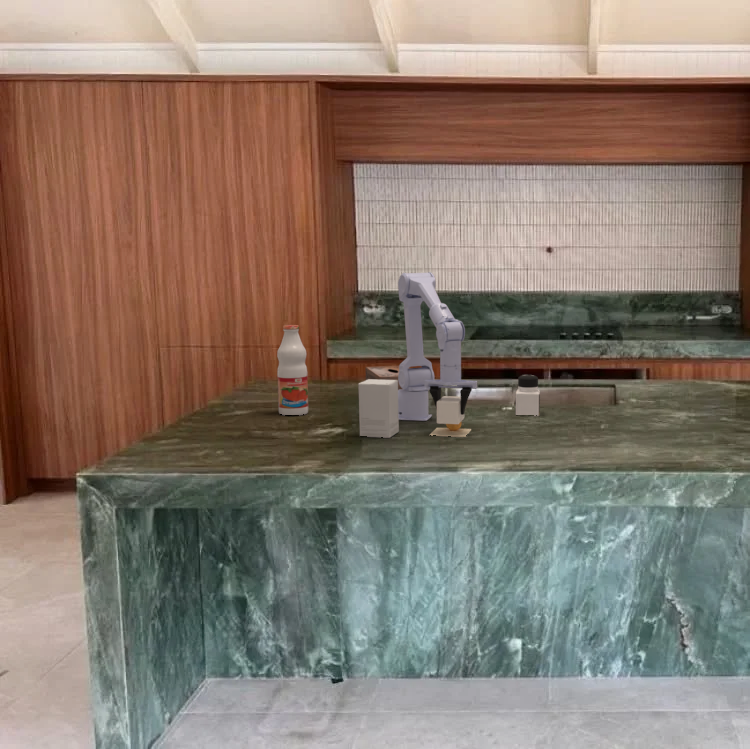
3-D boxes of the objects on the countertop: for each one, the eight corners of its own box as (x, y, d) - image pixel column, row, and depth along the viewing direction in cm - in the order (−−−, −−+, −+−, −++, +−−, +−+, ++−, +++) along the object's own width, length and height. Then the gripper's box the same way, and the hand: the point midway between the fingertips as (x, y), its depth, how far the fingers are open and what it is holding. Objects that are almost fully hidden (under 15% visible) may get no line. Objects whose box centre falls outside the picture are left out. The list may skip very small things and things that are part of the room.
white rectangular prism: (458, 424, 232) (458, 402, 231) (436, 423, 233) (436, 401, 233) (464, 417, 241) (464, 396, 240) (443, 416, 243) (443, 396, 242)
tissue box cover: (366, 394, 306) (365, 367, 304) (405, 392, 308) (404, 365, 307) (380, 407, 280) (380, 377, 279) (422, 404, 283) (422, 375, 282)
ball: (445, 413, 239) (447, 418, 243) (444, 427, 237) (446, 432, 241) (460, 413, 238) (462, 418, 242) (460, 427, 237) (462, 433, 240)
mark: (429, 435, 234) (429, 434, 234) (436, 428, 244) (436, 427, 244) (465, 437, 231) (465, 436, 231) (471, 429, 241) (471, 429, 241)
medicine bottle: (539, 416, 259) (539, 377, 257) (515, 415, 260) (515, 377, 259) (539, 412, 266) (540, 374, 264) (516, 411, 267) (516, 373, 266)
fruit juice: (303, 409, 276) (300, 323, 272) (312, 414, 267) (310, 325, 263) (275, 412, 272) (272, 325, 268) (283, 417, 263) (280, 327, 259)
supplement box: (399, 431, 240) (399, 379, 238) (389, 438, 231) (389, 384, 229) (369, 430, 243) (368, 378, 241) (358, 436, 234) (357, 383, 232)
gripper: (421, 366, 233) (422, 415, 235) (474, 367, 229) (474, 417, 231) (427, 363, 240) (427, 410, 242) (478, 364, 236) (478, 412, 238)
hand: (450, 413), depth 237 cm, fingers closed on white rectangular prism, 6 cm apart
